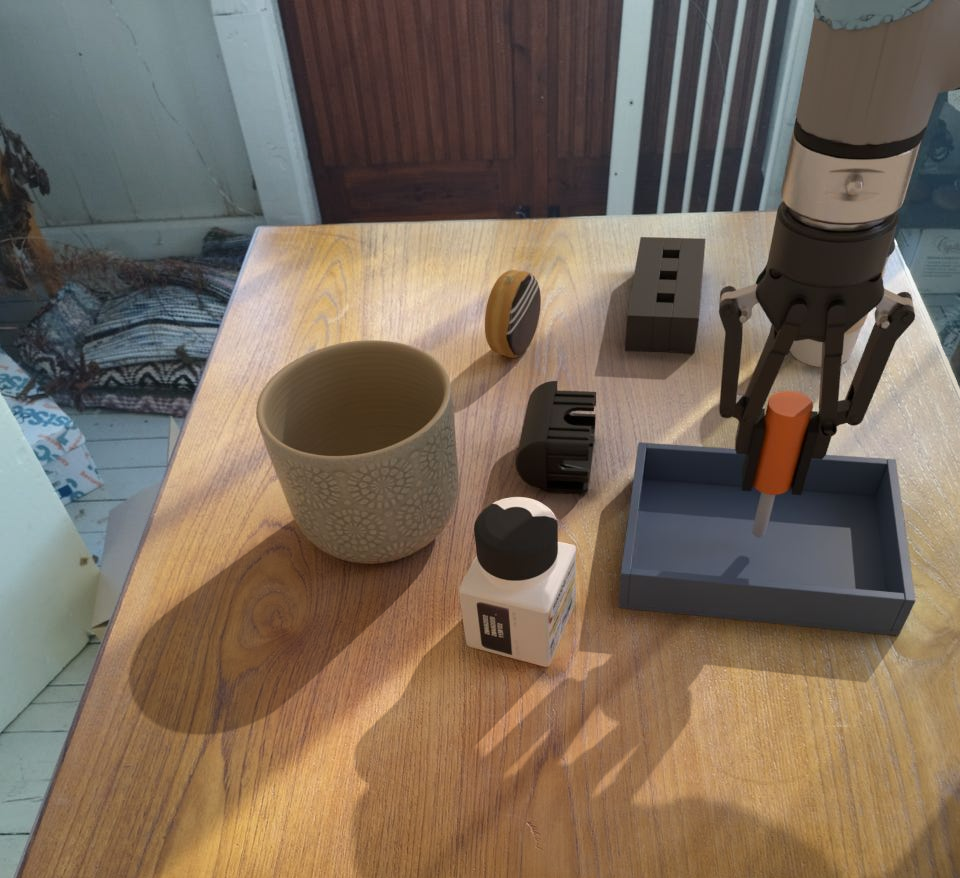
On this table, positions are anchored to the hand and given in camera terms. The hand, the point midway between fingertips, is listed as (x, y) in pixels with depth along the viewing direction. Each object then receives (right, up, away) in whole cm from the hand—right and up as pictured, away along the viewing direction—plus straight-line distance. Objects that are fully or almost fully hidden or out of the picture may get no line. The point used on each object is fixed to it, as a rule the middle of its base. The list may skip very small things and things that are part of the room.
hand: (771, 481), depth 74 cm
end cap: (-17, +5, +16) cm, 24 cm away
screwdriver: (0, -4, +5) cm, 6 cm away
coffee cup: (+14, +20, +25) cm, 35 cm away
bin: (+1, -5, +6) cm, 8 cm away
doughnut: (-21, +21, +30) cm, 42 cm away
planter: (-35, -2, +12) cm, 37 cm away
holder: (-2, +27, +32) cm, 42 cm away
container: (-21, -12, +3) cm, 25 cm away
